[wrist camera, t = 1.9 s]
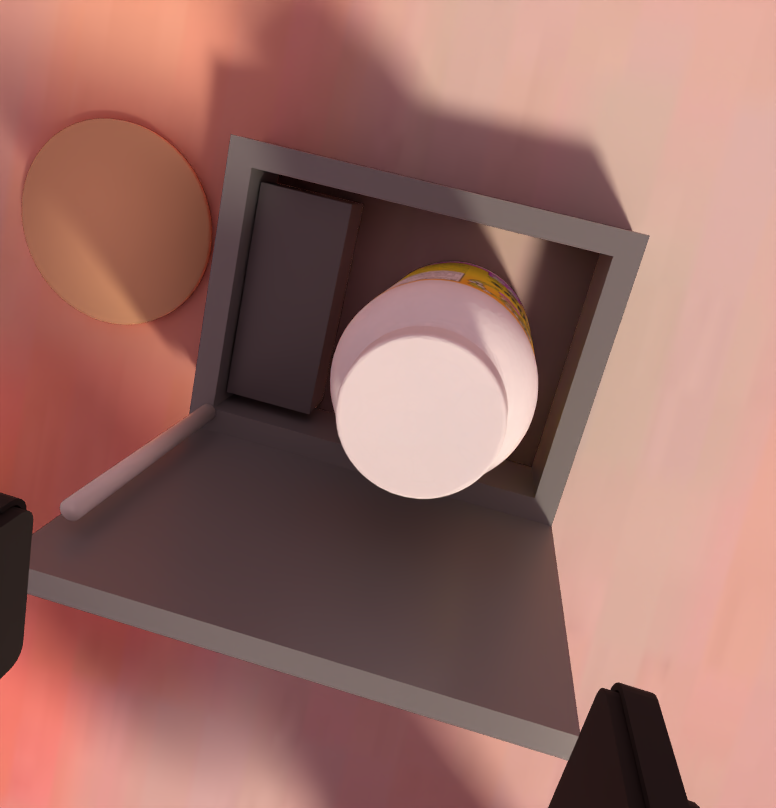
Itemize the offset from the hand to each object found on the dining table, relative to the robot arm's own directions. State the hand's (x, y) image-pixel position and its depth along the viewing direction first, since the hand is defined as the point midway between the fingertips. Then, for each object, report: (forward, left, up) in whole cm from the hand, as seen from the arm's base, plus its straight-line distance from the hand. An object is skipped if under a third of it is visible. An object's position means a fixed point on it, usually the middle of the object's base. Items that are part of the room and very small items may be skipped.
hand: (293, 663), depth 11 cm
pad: (+15, -2, -22) cm, 27 cm away
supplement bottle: (-1, -1, -22) cm, 22 cm away
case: (+1, -1, -22) cm, 22 cm away
